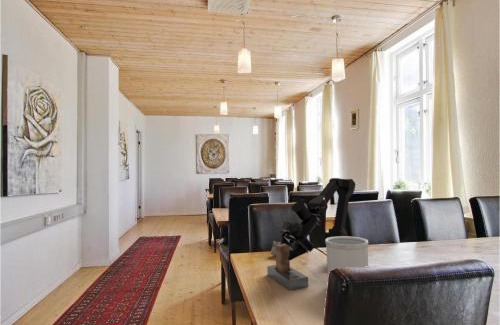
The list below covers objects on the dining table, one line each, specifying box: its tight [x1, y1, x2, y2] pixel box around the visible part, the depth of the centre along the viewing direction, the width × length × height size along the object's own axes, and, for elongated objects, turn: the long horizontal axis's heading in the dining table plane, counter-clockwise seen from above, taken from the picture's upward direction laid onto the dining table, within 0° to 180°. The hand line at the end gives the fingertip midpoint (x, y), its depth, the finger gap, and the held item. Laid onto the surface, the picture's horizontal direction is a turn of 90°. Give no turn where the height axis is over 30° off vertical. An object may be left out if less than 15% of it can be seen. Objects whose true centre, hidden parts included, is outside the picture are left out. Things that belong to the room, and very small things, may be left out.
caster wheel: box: [270, 240, 294, 257], centre depth 154 cm, size 7×11×10 cm
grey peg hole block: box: [266, 264, 309, 291], centre depth 118 cm, size 18×8×4 cm, turn 22°
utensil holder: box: [324, 235, 369, 276], centre depth 109 cm, size 15×15×18 cm
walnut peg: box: [275, 244, 291, 272], centre depth 121 cm, size 4×4×13 cm
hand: (283, 256), depth 121 cm, fingers open, 9 cm apart
